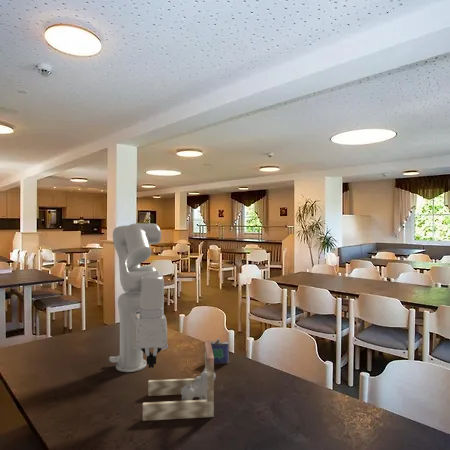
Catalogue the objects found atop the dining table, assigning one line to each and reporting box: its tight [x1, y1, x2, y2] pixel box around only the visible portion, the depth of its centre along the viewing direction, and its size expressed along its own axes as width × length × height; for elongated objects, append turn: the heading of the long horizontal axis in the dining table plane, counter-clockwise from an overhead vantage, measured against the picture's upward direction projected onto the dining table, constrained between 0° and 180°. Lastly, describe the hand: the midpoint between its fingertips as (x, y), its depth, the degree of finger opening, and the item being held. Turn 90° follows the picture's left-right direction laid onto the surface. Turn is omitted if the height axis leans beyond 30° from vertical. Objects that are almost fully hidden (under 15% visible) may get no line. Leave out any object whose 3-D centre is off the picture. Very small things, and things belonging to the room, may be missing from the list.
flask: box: [211, 338, 230, 365], centre depth 150 cm, size 9×3×11 cm, turn 88°
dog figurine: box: [180, 368, 217, 401], centre depth 117 cm, size 5×13×11 cm, turn 128°
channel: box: [142, 339, 215, 422], centre depth 116 cm, size 22×16×19 cm
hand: (151, 366), depth 116 cm, fingers closed
